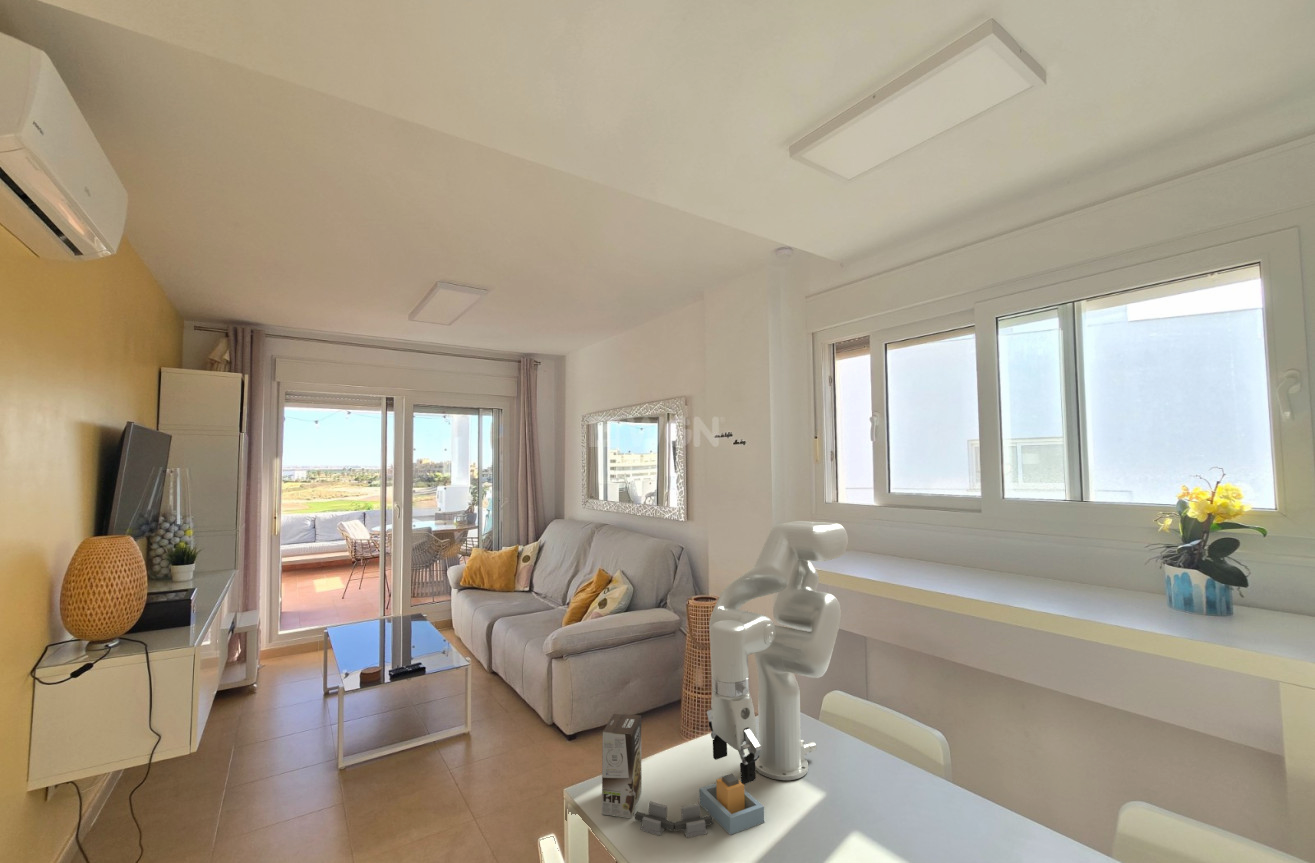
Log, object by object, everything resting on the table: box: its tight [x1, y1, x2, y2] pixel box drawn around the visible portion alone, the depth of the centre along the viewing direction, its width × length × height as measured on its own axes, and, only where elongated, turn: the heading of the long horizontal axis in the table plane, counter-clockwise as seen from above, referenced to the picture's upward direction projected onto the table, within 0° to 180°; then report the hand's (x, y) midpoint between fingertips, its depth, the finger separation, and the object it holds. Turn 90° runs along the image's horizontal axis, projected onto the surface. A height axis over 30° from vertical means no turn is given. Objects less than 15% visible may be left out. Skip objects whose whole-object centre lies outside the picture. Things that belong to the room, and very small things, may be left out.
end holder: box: [698, 782, 765, 836], centre depth 111 cm, size 8×11×3 cm
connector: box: [715, 773, 745, 814], centre depth 111 cm, size 4×4×7 cm
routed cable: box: [634, 811, 714, 832], centre depth 107 cm, size 15×4×1 cm, turn 85°
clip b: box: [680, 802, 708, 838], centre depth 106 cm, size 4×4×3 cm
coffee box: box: [601, 713, 642, 819], centre depth 115 cm, size 9×6×16 cm
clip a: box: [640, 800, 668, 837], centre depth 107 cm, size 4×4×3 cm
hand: (733, 769), depth 113 cm, fingers open, 9 cm apart
